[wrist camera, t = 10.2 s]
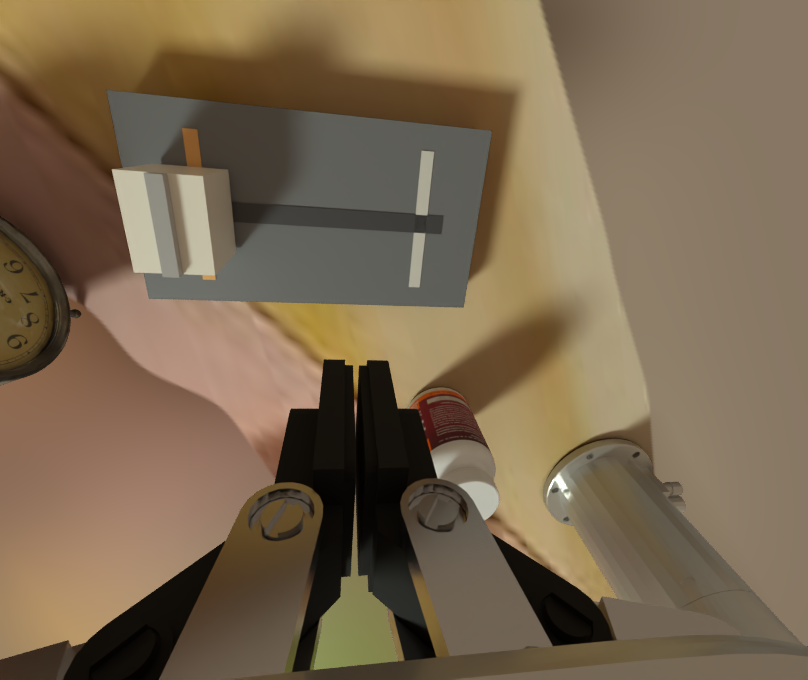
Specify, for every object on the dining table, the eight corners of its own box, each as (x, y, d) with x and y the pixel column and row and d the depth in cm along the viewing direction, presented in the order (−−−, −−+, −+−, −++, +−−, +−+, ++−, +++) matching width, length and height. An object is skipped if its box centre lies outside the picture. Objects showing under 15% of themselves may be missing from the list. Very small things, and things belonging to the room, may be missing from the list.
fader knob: (228, 169, 24) (199, 177, 19) (236, 252, 26) (212, 278, 21) (155, 163, 23) (105, 170, 18) (169, 249, 25) (128, 276, 20)
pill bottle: (401, 389, 37) (424, 480, 27) (467, 380, 37) (512, 465, 27) (406, 441, 39) (428, 540, 30) (467, 432, 40) (508, 526, 30)
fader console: (477, 131, 28) (492, 130, 25) (453, 294, 33) (463, 307, 30) (131, 95, 24) (105, 89, 22) (166, 284, 29) (148, 298, 27)
